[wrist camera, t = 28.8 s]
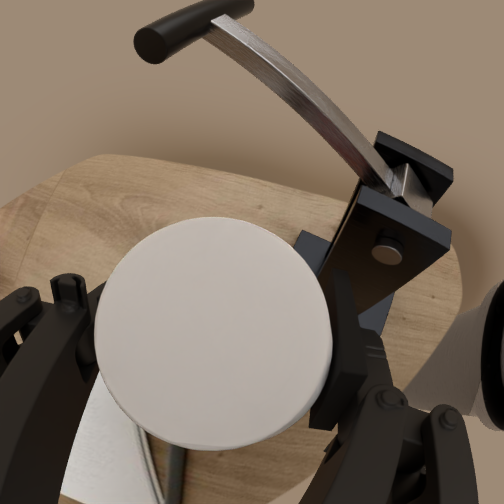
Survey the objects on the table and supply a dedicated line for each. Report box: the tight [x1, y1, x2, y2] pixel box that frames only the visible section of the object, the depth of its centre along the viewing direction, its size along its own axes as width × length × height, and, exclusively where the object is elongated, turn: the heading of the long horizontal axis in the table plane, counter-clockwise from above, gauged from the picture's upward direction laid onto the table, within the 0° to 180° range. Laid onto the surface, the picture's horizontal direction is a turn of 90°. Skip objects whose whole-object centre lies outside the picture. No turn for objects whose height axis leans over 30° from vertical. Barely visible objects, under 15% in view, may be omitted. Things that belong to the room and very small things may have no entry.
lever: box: [134, 0, 433, 219], centre depth 10 cm, size 14×6×2 cm
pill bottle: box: [94, 217, 332, 451], centre depth 10 cm, size 6×6×11 cm
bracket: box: [293, 131, 453, 336], centre depth 17 cm, size 10×6×15 cm, turn 63°
